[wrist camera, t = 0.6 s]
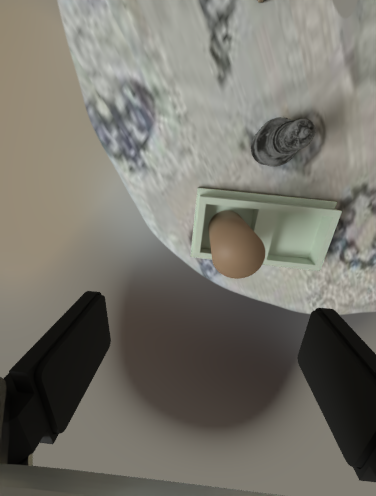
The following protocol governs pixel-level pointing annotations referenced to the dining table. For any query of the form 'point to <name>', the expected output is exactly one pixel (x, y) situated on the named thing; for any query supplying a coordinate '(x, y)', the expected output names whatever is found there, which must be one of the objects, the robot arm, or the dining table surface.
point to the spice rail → (261, 231)
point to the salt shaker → (281, 140)
